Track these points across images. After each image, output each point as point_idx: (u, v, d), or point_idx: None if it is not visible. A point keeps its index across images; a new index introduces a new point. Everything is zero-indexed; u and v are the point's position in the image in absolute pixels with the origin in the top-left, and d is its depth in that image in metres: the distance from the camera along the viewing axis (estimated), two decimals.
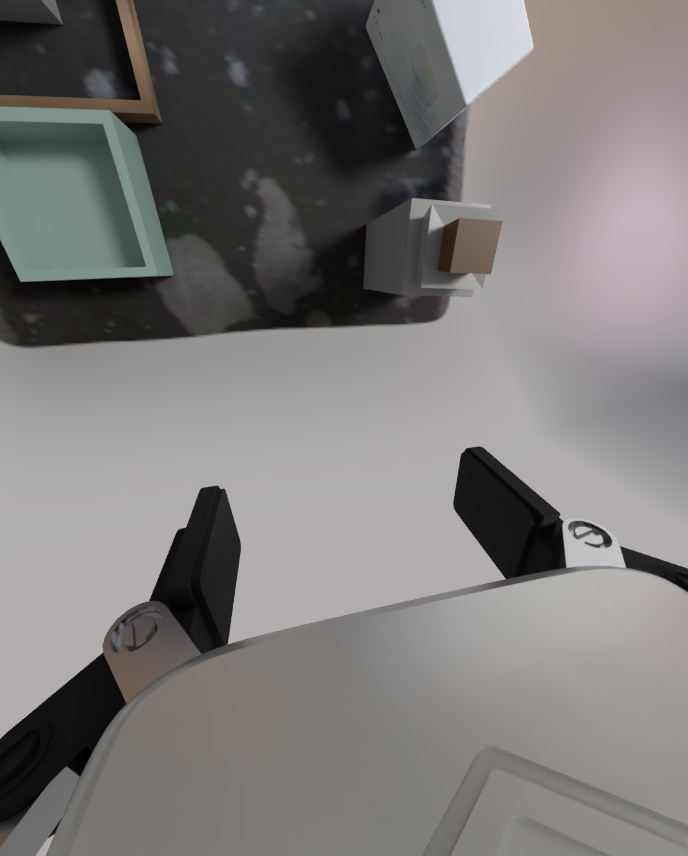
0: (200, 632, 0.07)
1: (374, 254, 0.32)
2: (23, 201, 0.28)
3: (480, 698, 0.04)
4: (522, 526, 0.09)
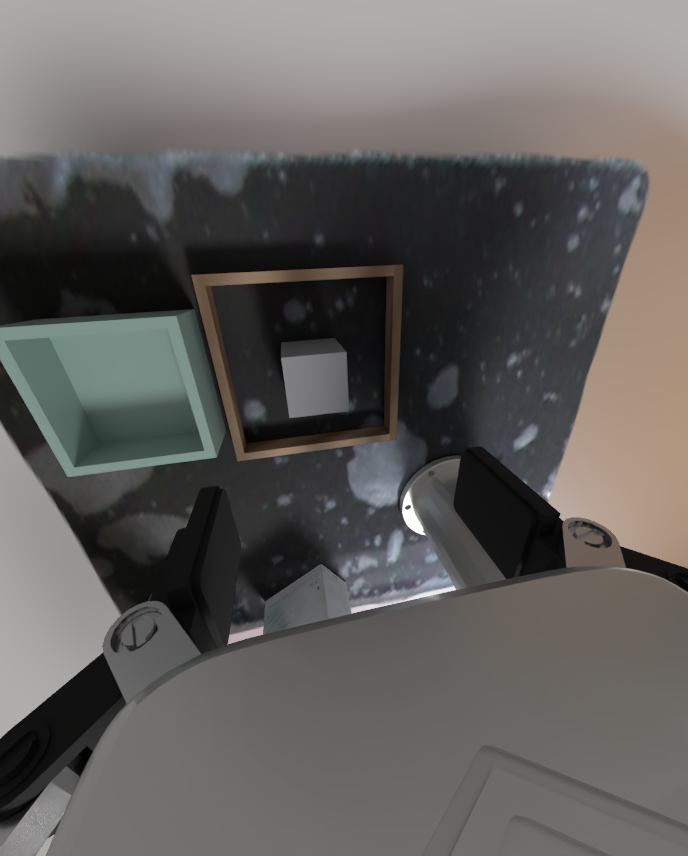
0: (200, 632, 0.07)
1: None
2: None
3: (480, 698, 0.04)
4: (522, 526, 0.09)
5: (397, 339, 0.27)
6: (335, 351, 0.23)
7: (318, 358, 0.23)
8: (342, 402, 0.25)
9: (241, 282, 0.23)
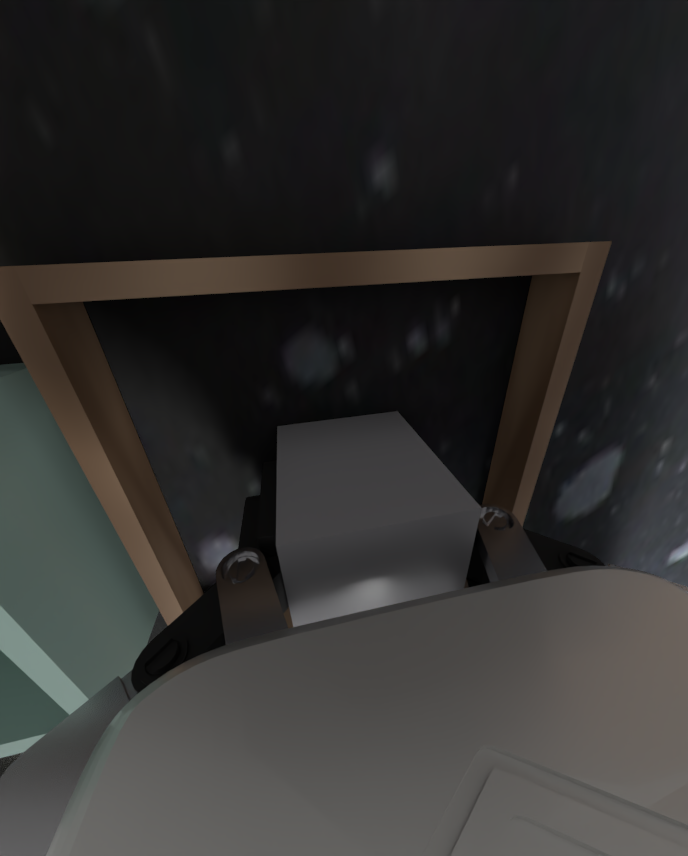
0: None
1: None
2: None
3: (480, 698, 0.04)
4: None
5: (549, 420, 0.12)
6: (442, 500, 0.08)
7: (395, 533, 0.07)
8: None
9: (153, 291, 0.07)
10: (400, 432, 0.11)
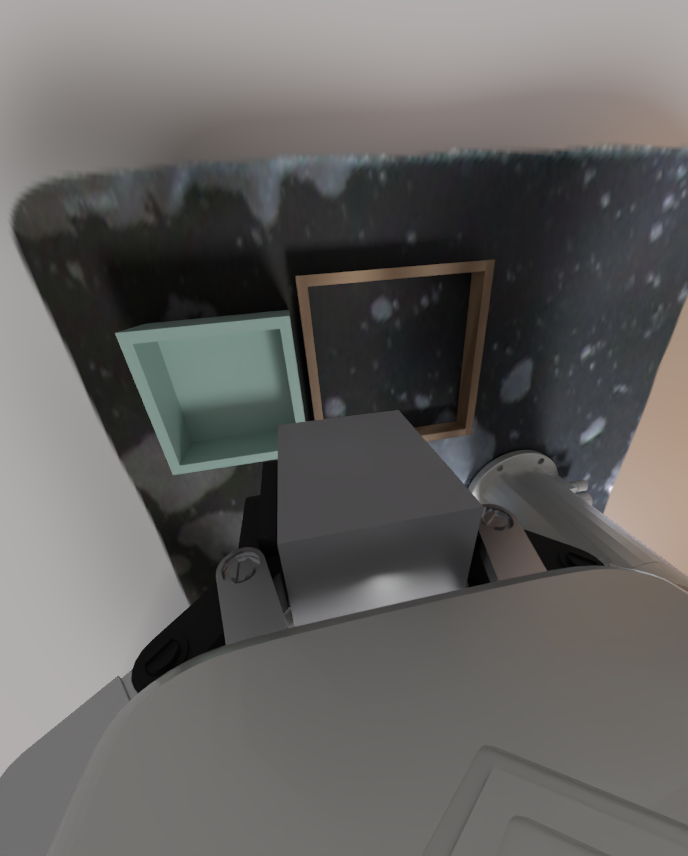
0: (283, 576, 0.09)
1: None
2: None
3: (480, 698, 0.04)
4: None
5: (482, 334, 0.28)
6: (443, 498, 0.08)
7: (397, 531, 0.07)
8: None
9: (341, 282, 0.24)
10: (401, 431, 0.11)
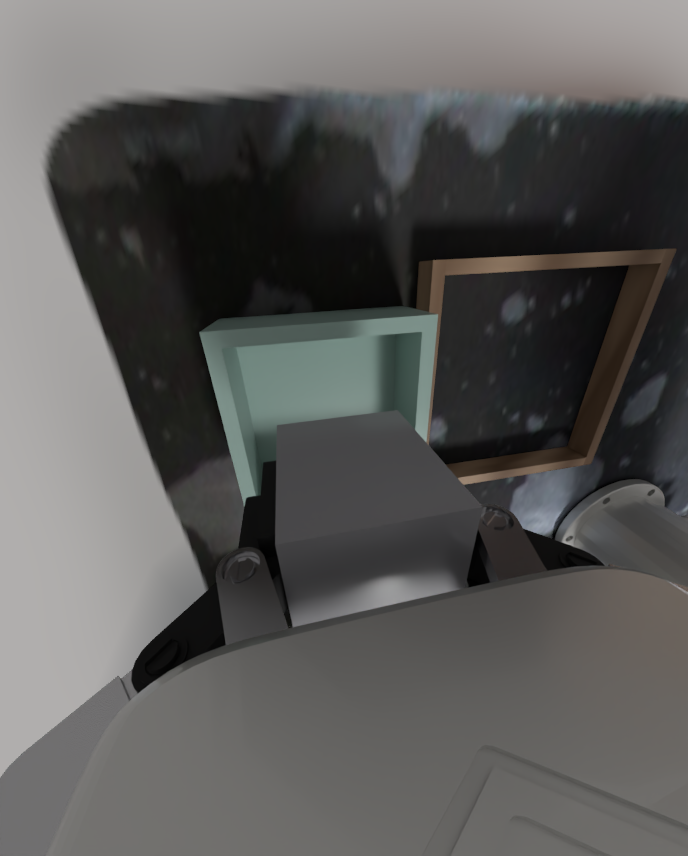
0: None
1: None
2: None
3: (480, 698, 0.04)
4: None
5: (635, 344, 0.22)
6: (442, 499, 0.08)
7: (396, 532, 0.07)
8: None
9: (487, 270, 0.18)
10: (400, 431, 0.11)
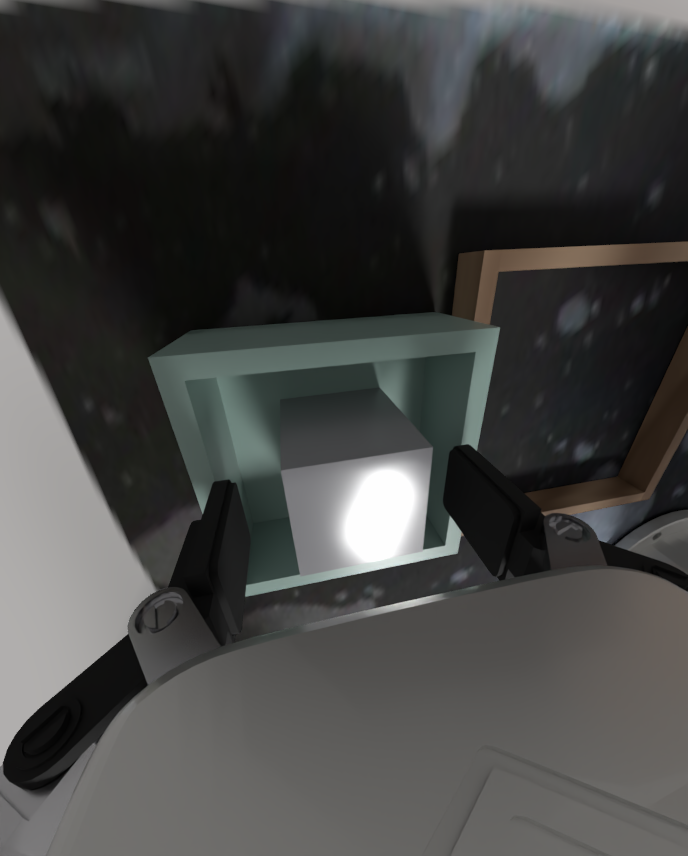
0: (217, 618, 0.08)
1: None
2: None
3: (480, 698, 0.04)
4: (505, 521, 0.09)
5: None
6: (404, 443, 0.10)
7: (368, 465, 0.10)
8: (410, 539, 0.12)
9: (554, 265, 0.13)
10: (380, 402, 0.14)
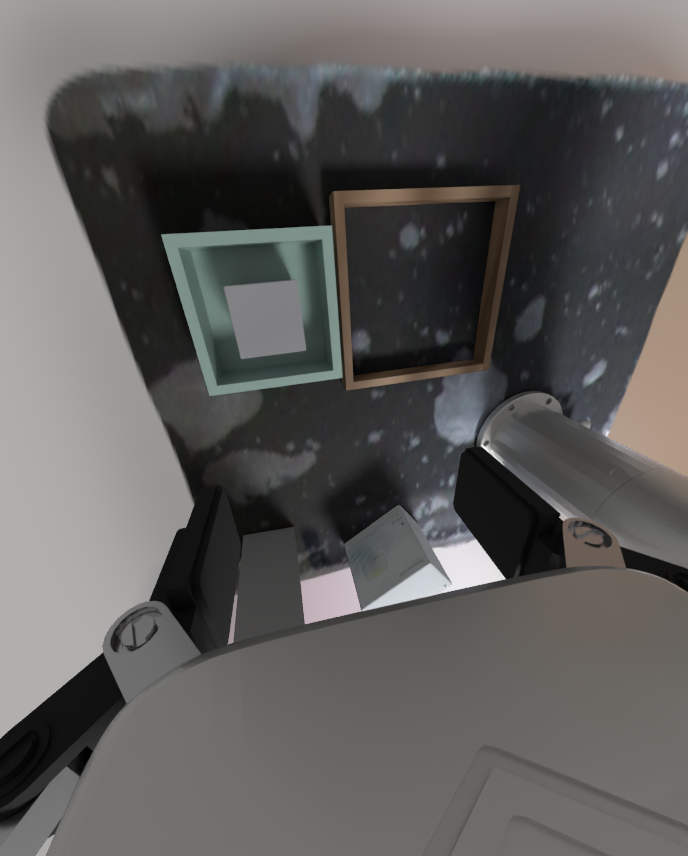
0: (200, 632, 0.07)
1: (270, 555, 0.37)
2: (263, 246, 0.25)
3: (480, 698, 0.04)
4: (522, 526, 0.09)
5: (504, 263, 0.29)
6: (285, 280, 0.21)
7: (266, 287, 0.21)
8: (298, 340, 0.23)
9: (376, 200, 0.24)
10: None
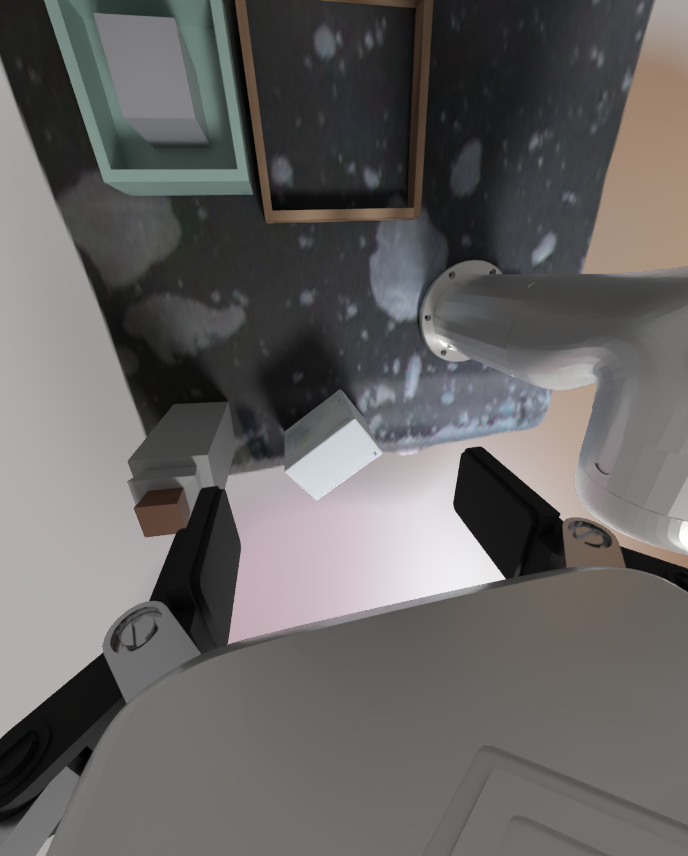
0: (200, 632, 0.07)
1: (195, 415, 0.36)
2: None
3: (480, 698, 0.04)
4: (522, 526, 0.09)
5: (425, 78, 0.28)
6: None
7: (141, 22, 0.20)
8: (184, 103, 0.22)
9: None
10: None
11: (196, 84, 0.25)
